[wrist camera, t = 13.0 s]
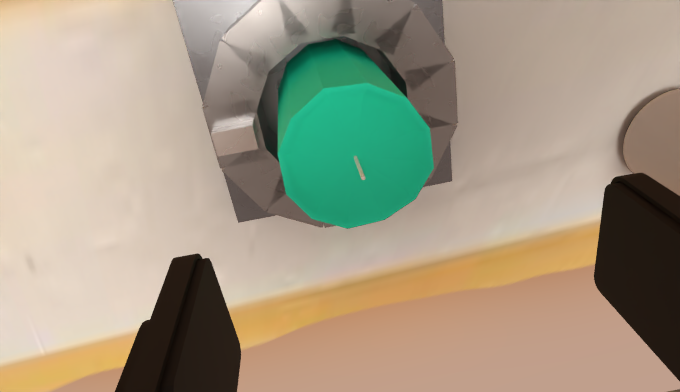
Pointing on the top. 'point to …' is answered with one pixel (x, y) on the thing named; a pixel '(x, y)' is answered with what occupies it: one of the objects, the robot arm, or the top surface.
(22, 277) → the top surface
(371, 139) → the candle
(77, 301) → the top surface
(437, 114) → the hub
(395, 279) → the top surface
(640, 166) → the beverage can
